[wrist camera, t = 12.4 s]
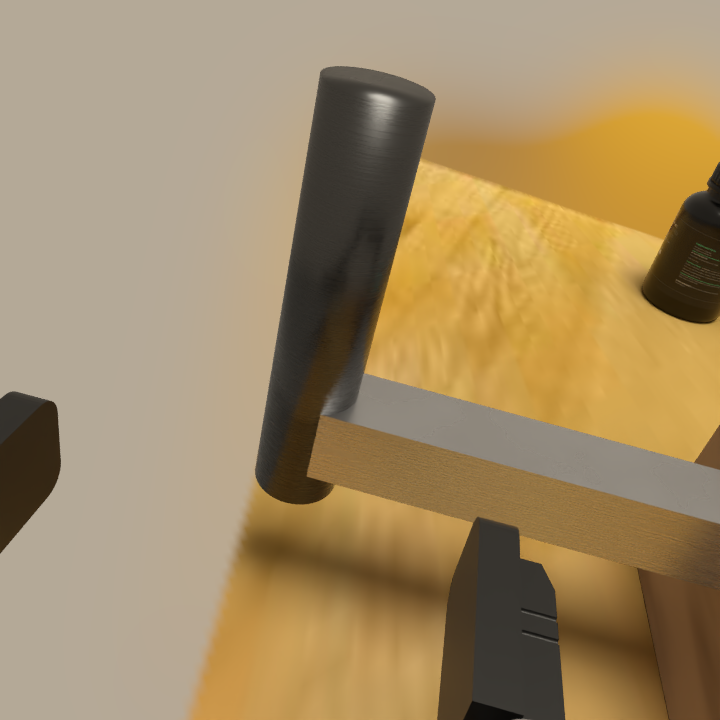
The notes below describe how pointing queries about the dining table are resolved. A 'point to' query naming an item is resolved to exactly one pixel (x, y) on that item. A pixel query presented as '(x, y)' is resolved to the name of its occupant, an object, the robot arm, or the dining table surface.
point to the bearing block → (687, 632)
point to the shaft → (428, 409)
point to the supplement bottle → (690, 260)
